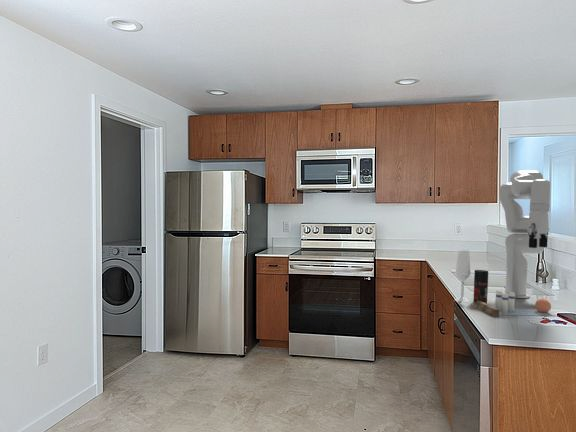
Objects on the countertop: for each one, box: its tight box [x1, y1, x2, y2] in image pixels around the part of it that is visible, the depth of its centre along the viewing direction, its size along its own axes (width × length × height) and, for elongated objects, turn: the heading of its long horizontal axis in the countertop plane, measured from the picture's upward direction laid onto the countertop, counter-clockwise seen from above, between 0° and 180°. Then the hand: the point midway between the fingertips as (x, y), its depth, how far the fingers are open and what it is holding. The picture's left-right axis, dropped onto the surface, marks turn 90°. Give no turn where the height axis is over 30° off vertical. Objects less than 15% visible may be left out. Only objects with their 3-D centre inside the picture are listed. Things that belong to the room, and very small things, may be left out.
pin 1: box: [495, 290, 503, 311], centre depth 197 cm, size 2×2×8 cm
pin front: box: [508, 292, 516, 312], centre depth 194 cm, size 2×2×8 cm
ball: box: [534, 298, 552, 313], centre depth 195 cm, size 6×6×6 cm
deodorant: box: [472, 269, 489, 304], centre depth 212 cm, size 6×6×15 cm
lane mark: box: [499, 308, 556, 317], centre depth 195 cm, size 11×25×1 cm, turn 92°
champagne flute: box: [454, 249, 471, 303], centre depth 216 cm, size 7×7×24 cm
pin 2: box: [501, 293, 509, 314], centre depth 192 cm, size 2×2×8 cm
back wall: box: [475, 301, 500, 318], centre depth 194 cm, size 16×2×3 cm, turn 3°
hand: (538, 247), depth 197 cm, fingers open, 9 cm apart
